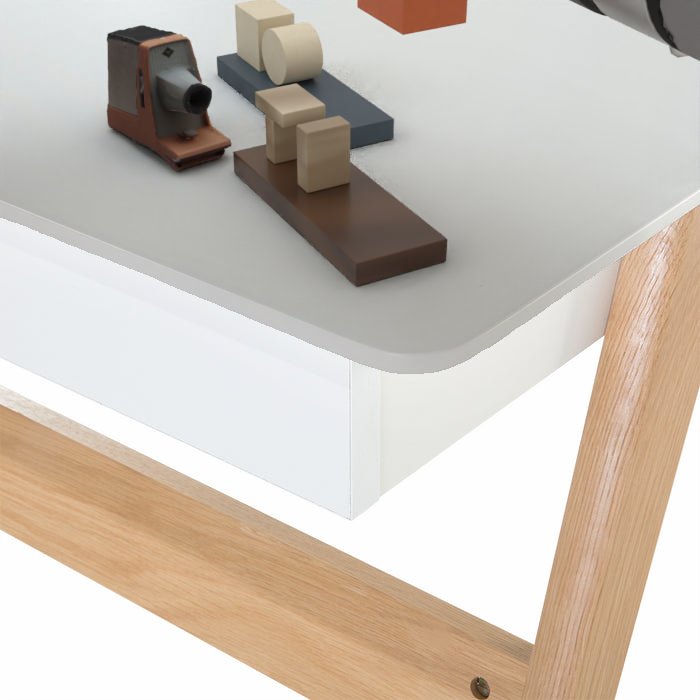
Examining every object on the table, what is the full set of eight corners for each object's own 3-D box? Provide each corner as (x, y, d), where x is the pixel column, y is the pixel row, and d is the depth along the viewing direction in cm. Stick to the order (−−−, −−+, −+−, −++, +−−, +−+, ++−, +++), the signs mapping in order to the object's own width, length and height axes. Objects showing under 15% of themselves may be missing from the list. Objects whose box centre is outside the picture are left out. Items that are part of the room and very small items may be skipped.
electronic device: (178, 176, 80) (169, 65, 76) (104, 129, 86) (92, 24, 82) (234, 158, 82) (228, 49, 78) (158, 114, 89) (149, 11, 85)
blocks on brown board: (446, 261, 71) (451, 175, 68) (356, 287, 69) (356, 198, 66) (314, 153, 83) (313, 76, 80) (233, 172, 81) (229, 93, 78)
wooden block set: (393, 138, 85) (395, 62, 82) (316, 156, 83) (316, 78, 80) (287, 61, 97) (285, -8, 94) (217, 75, 95) (213, 4, 92)
